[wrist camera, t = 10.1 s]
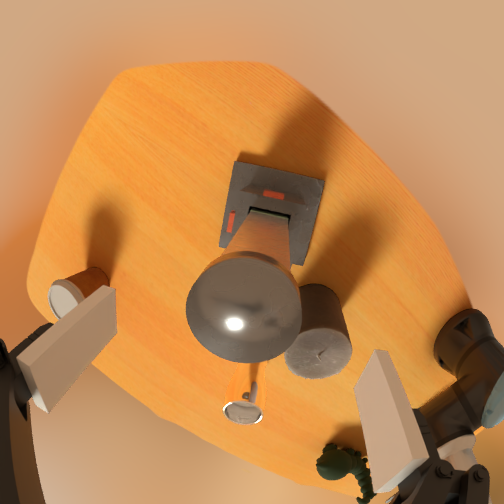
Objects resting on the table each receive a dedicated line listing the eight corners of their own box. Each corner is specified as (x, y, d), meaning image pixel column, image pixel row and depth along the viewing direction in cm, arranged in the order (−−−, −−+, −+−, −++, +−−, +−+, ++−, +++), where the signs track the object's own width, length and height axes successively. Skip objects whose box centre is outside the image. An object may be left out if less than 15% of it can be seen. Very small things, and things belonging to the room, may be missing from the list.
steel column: (296, 205, 37) (316, 278, 14) (285, 251, 39) (284, 372, 16) (248, 194, 37) (192, 250, 14) (239, 240, 39) (182, 348, 16)
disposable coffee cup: (102, 253, 51) (65, 275, 40) (123, 295, 54) (91, 324, 42) (74, 267, 53) (39, 289, 42) (94, 305, 56) (63, 333, 44)
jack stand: (323, 180, 43) (337, 187, 32) (302, 262, 47) (307, 294, 36) (236, 160, 44) (219, 161, 32) (220, 244, 48) (201, 270, 37)
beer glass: (240, 340, 54) (227, 395, 39) (275, 350, 54) (270, 406, 39) (231, 365, 56) (217, 419, 42) (263, 374, 56) (256, 429, 42)
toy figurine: (376, 450, 65) (327, 431, 60) (388, 499, 47) (336, 494, 42) (351, 463, 68) (300, 446, 63) (360, 510, 50) (304, 505, 45)
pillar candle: (310, 272, 48) (318, 319, 34) (350, 304, 49) (368, 356, 35) (274, 310, 51) (268, 364, 37) (313, 339, 52) (318, 395, 38)
